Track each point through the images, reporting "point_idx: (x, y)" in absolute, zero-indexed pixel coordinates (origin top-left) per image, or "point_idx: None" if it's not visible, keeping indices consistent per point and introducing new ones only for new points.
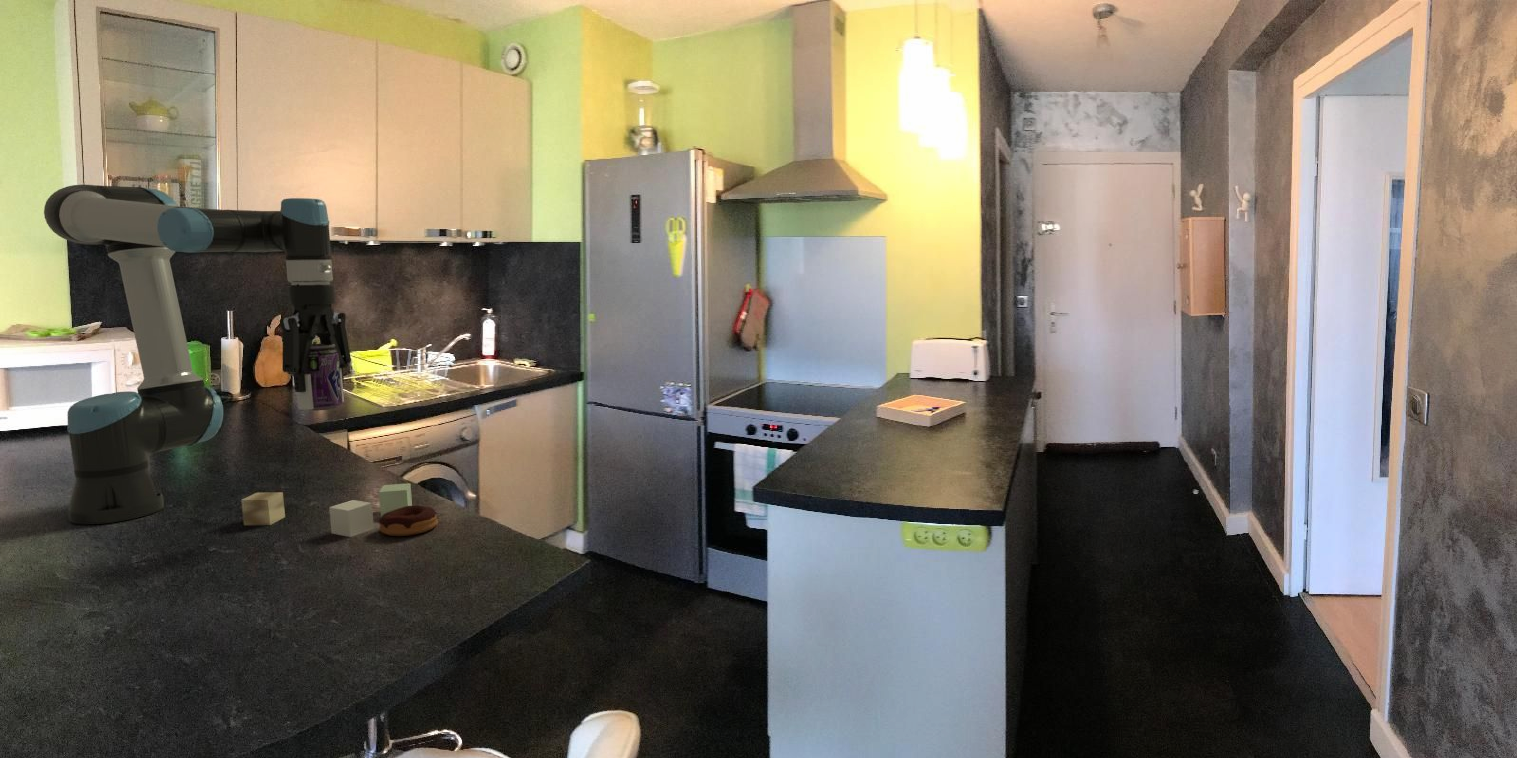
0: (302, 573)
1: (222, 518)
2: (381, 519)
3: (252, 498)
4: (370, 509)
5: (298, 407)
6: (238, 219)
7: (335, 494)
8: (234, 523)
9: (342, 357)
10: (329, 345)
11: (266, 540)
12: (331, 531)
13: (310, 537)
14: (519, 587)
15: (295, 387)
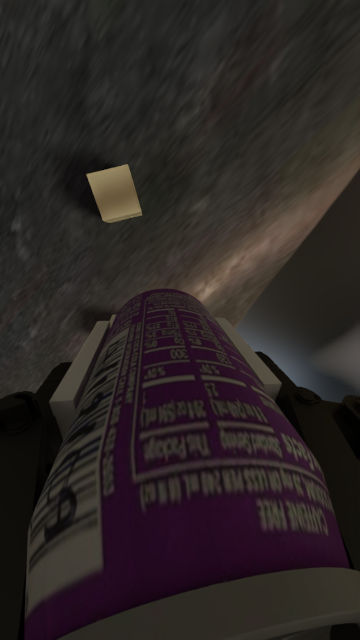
0: (23, 365)
1: (108, 111)
2: None
3: (99, 188)
4: None
5: (96, 323)
6: None
7: (239, 205)
8: (97, 159)
9: (355, 447)
10: (302, 631)
11: (67, 265)
12: (112, 315)
13: (95, 303)
14: None
15: (50, 378)
